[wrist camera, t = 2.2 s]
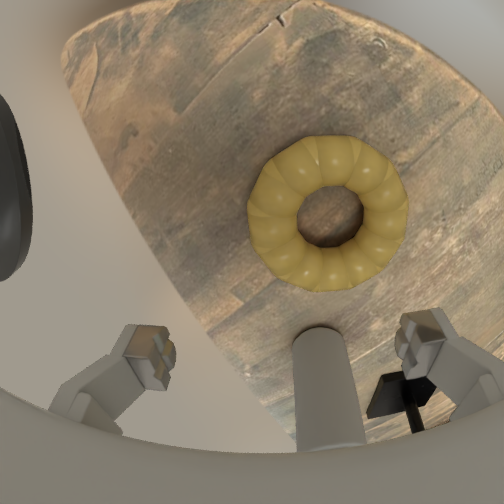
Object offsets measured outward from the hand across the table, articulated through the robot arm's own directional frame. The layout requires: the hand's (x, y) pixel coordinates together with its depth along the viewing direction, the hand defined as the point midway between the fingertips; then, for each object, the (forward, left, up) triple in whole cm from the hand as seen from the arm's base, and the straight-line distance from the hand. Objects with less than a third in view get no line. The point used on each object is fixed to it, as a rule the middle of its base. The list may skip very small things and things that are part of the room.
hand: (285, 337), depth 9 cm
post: (+15, -24, -11) cm, 31 cm away
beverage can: (+3, -12, -11) cm, 17 cm away
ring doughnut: (+3, 0, -10) cm, 10 cm away
